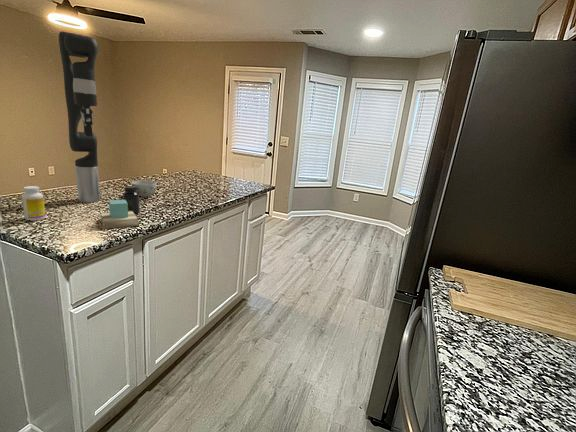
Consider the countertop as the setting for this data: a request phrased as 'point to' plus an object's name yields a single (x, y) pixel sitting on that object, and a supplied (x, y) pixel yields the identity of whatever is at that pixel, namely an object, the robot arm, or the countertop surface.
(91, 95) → the robot arm
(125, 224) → the birch pedestal
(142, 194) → the teacup
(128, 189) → the supplement bottle
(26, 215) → the supplement bottle
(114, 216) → the teal cube
